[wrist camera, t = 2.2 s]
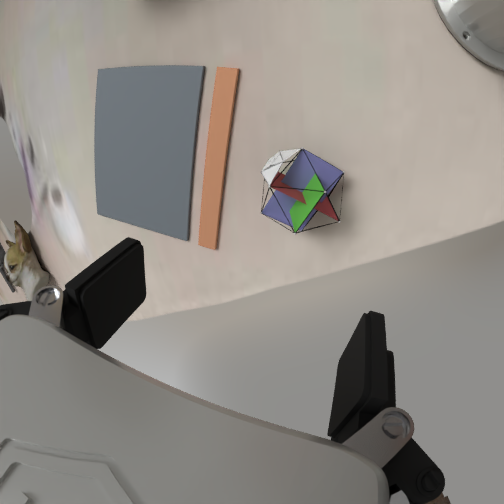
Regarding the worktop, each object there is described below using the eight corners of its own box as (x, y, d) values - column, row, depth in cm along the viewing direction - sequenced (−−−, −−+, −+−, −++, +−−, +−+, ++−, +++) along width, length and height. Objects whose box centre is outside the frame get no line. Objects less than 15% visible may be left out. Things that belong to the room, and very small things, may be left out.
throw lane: (239, 69, 23) (237, 68, 23) (216, 247, 33) (214, 249, 33) (100, 69, 27) (97, 69, 26) (99, 212, 36) (97, 214, 36)
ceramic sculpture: (20, 316, 45) (-15, 253, 42) (48, 295, 52) (15, 236, 49) (30, 303, 40) (-9, 230, 36) (63, 280, 47) (26, 213, 44)
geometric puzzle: (375, 194, 23) (325, 178, 18) (330, 250, 27) (271, 253, 22) (324, 147, 27) (266, 125, 22) (288, 201, 30) (227, 193, 25)
